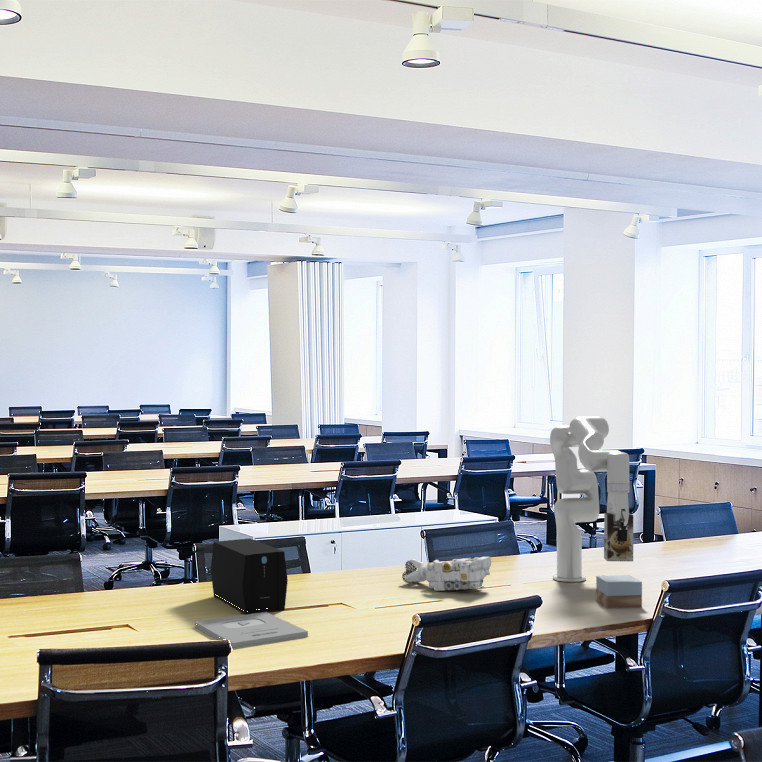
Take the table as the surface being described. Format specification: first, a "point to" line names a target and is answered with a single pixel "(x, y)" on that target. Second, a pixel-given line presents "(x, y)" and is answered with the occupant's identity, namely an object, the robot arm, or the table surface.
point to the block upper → (619, 585)
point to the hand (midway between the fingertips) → (618, 539)
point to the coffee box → (612, 545)
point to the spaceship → (449, 573)
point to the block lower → (619, 600)
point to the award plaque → (251, 629)
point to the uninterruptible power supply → (249, 575)
